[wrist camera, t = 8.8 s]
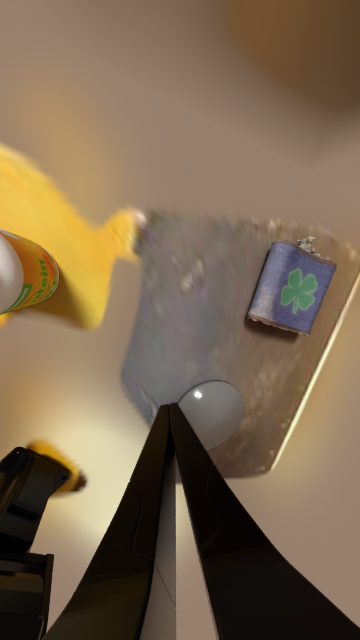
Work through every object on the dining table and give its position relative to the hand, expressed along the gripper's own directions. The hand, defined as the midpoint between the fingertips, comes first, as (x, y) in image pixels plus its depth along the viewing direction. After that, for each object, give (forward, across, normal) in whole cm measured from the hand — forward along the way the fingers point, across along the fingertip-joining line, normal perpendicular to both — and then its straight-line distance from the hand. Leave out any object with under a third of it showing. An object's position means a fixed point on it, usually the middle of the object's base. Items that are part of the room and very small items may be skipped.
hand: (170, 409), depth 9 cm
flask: (+12, -13, +4) cm, 18 cm away
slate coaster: (+10, -4, +14) cm, 18 cm away
